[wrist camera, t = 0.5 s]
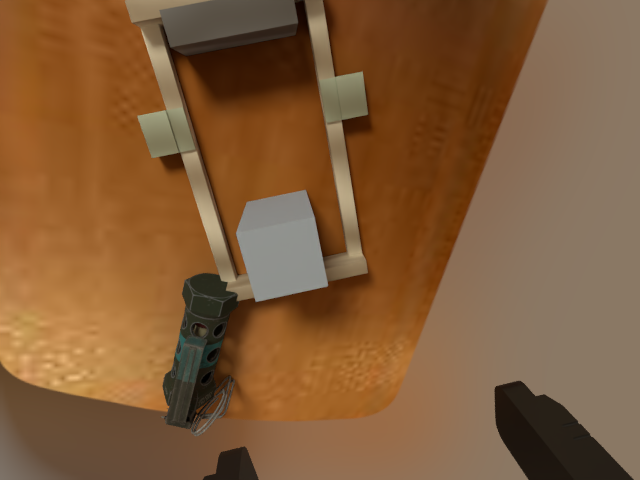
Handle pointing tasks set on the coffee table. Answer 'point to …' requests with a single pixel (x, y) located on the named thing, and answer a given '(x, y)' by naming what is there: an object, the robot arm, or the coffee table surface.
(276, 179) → the coffee table surface
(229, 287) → the beam frame
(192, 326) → the stun grenade
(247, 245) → the grey rectangular block
